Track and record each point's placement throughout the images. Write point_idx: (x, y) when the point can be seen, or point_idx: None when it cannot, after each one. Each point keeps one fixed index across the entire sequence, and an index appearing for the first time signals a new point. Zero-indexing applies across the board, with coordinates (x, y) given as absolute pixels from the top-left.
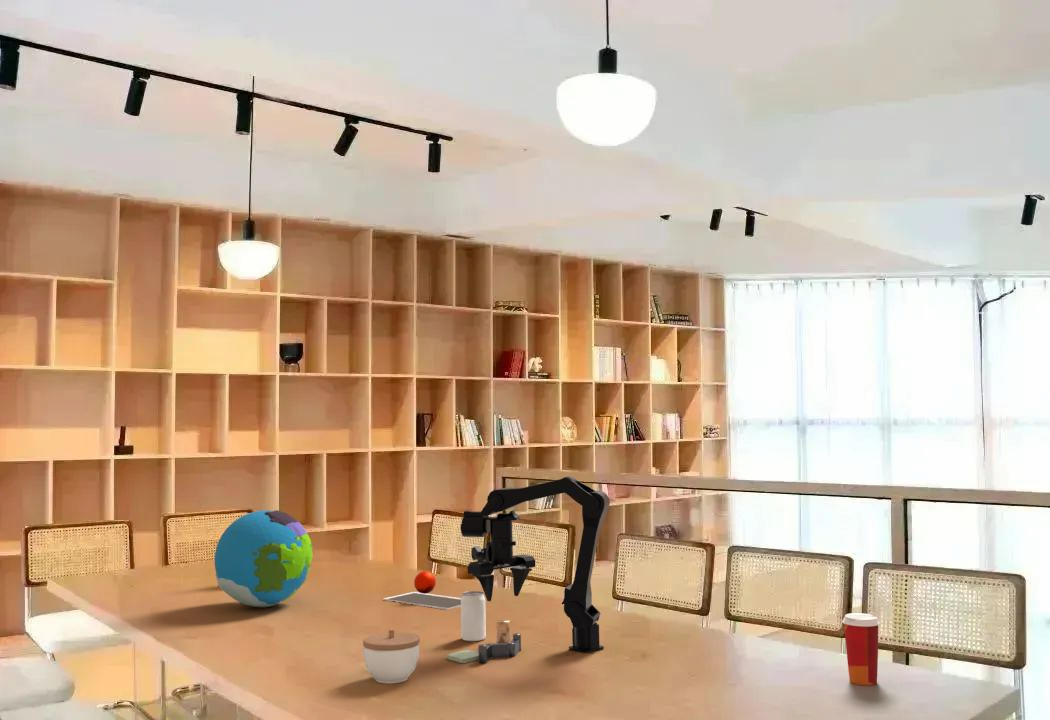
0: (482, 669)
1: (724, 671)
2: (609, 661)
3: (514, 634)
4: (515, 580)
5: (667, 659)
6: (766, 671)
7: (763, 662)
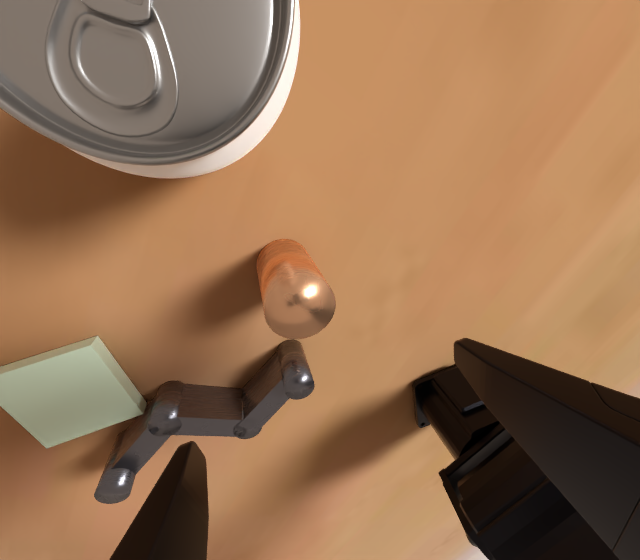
0: None
1: None
2: (410, 475)
3: (289, 390)
4: (580, 443)
5: None
6: None
7: None
